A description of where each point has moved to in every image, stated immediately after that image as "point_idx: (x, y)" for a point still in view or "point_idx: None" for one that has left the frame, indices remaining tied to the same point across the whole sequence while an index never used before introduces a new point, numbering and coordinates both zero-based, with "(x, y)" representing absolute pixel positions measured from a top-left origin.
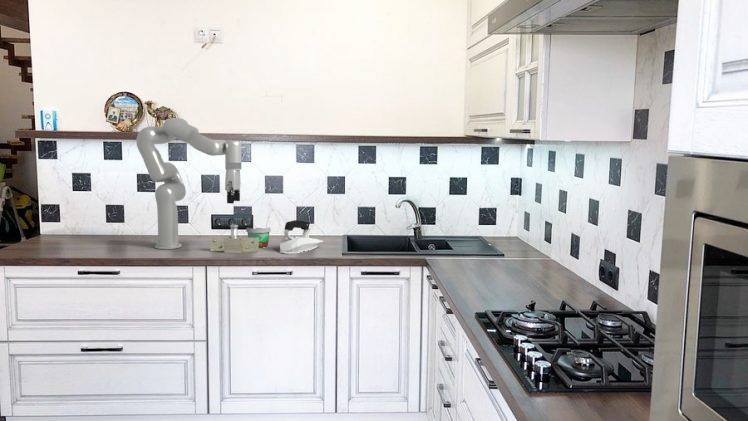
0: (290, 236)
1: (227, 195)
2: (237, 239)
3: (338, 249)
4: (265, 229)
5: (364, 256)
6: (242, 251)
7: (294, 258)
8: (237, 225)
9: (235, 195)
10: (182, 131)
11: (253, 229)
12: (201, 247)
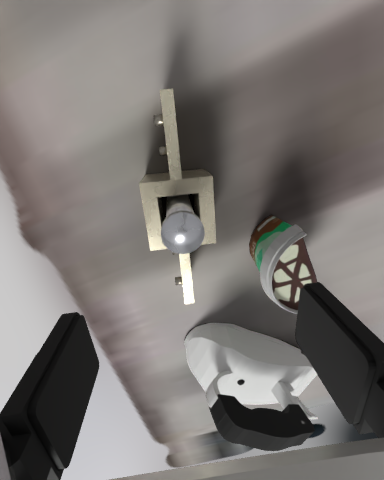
0: (253, 369)
1: (9, 412)
2: (149, 240)
3: None
4: (284, 307)
5: (202, 462)
6: None
7: (135, 376)
8: (183, 252)
9: (338, 355)
10: None
11: (270, 271)
12: (227, 17)
